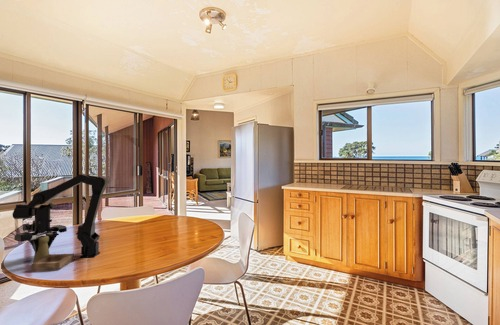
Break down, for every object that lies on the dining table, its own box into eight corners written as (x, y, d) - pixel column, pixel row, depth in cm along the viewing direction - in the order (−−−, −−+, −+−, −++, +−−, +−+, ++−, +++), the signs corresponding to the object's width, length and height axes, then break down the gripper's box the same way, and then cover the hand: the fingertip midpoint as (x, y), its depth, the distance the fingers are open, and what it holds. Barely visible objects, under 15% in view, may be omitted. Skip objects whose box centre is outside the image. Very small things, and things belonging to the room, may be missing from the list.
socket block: (74, 259, 116) (74, 253, 116) (59, 269, 105) (59, 262, 105) (48, 260, 115) (48, 254, 115) (31, 271, 104) (31, 264, 104)
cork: (48, 255, 121) (48, 233, 121) (51, 259, 117) (51, 235, 117) (32, 259, 116) (32, 236, 116) (34, 262, 112) (35, 238, 112)
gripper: (53, 212, 128) (53, 242, 128) (7, 220, 111) (7, 254, 111) (67, 214, 124) (67, 245, 124) (22, 222, 107) (21, 258, 107)
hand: (42, 250), depth 117 cm, fingers closed on cork, 4 cm apart
